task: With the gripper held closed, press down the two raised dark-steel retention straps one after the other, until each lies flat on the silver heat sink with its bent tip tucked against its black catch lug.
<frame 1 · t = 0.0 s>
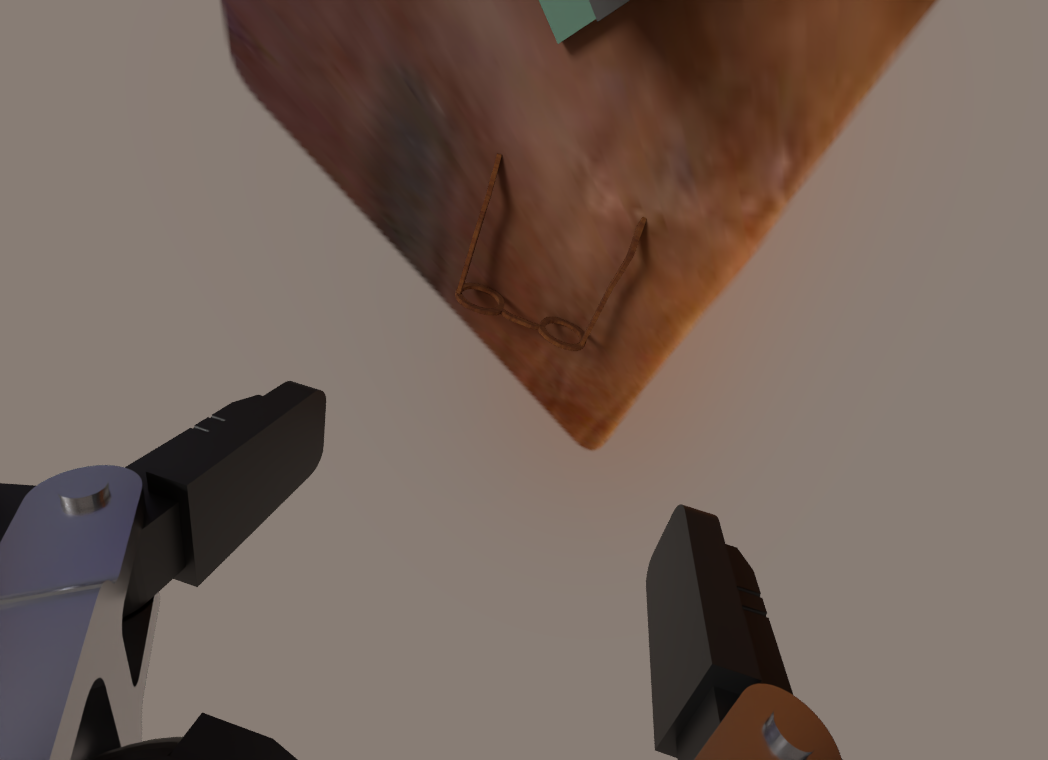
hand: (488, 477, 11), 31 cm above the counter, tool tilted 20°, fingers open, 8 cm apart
glasses: (548, 249, 43), on the counter
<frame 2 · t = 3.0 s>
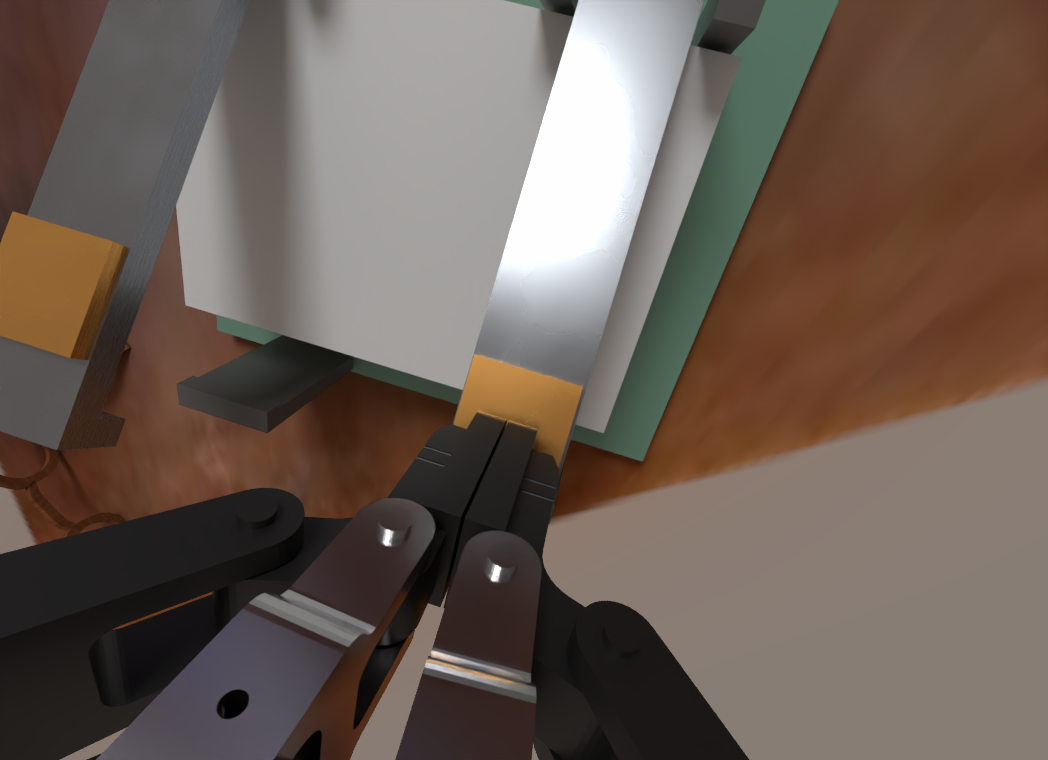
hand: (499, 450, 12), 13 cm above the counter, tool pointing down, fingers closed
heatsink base: (458, 201, 22), on the counter
glasses: (146, 453, 34), on the counter
strap b: (137, 141, 13), point 10 cm above the counter, hinge at 30.0°
strap a: (562, 266, 13), point 10 cm above the counter, hinge at 25.2°, touching gripper
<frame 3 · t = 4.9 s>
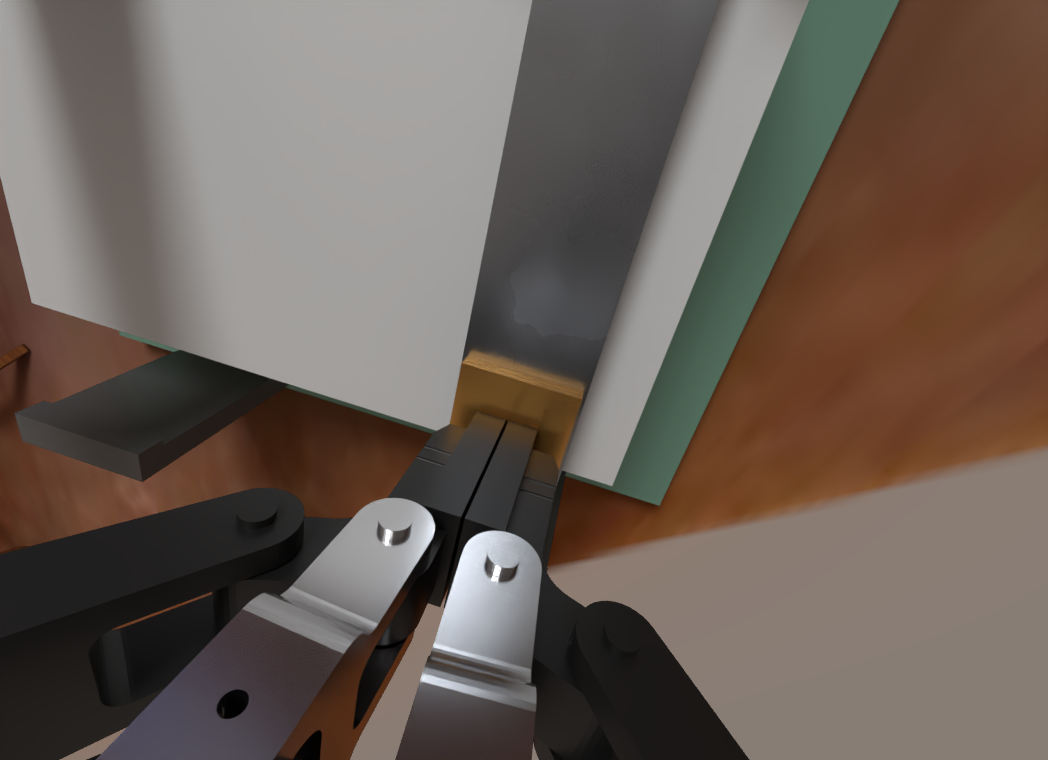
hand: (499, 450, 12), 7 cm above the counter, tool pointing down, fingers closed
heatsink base: (416, 164, 16), on the counter
glasses: (66, 477, 28), on the counter
strap a: (561, 244, 10), point 6 cm above the counter, hinge at 0.9°, touching gripper
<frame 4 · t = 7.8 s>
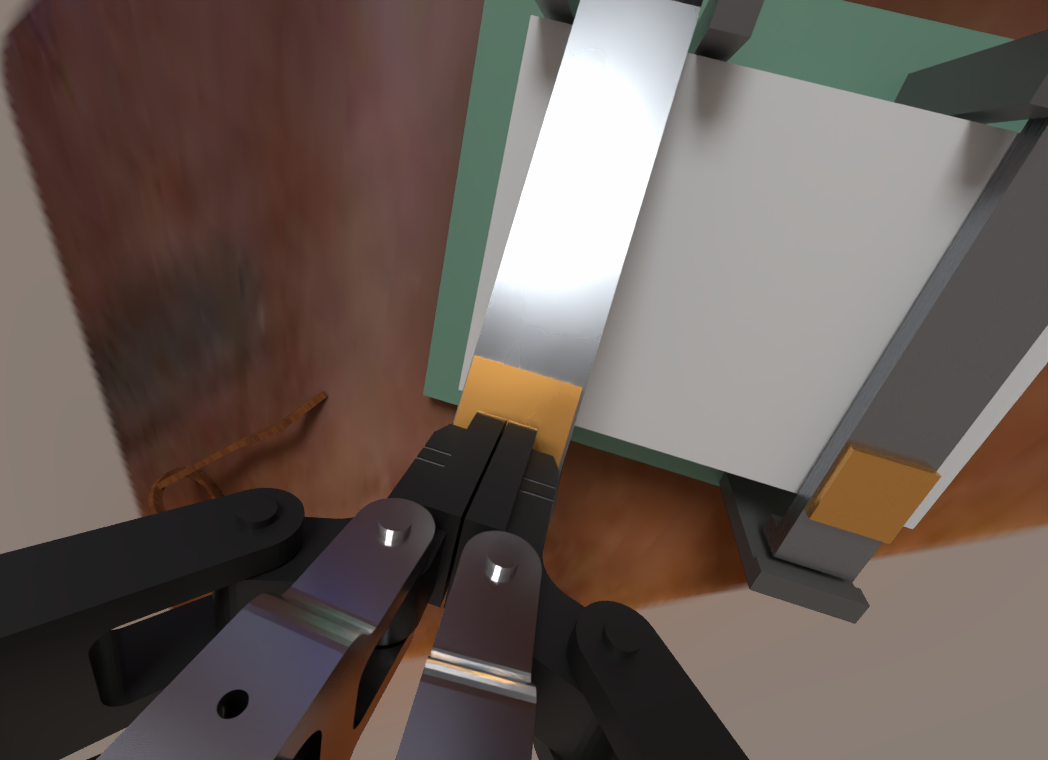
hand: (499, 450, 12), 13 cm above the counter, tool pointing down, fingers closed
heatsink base: (714, 275, 21), on the counter
glasses: (316, 499, 33), on the counter
strap b: (561, 268, 13), point 10 cm above the counter, hinge at 26.2°, touching gripper
strap a: (933, 372, 15), point 6 cm above the counter, hinge at 0.8°
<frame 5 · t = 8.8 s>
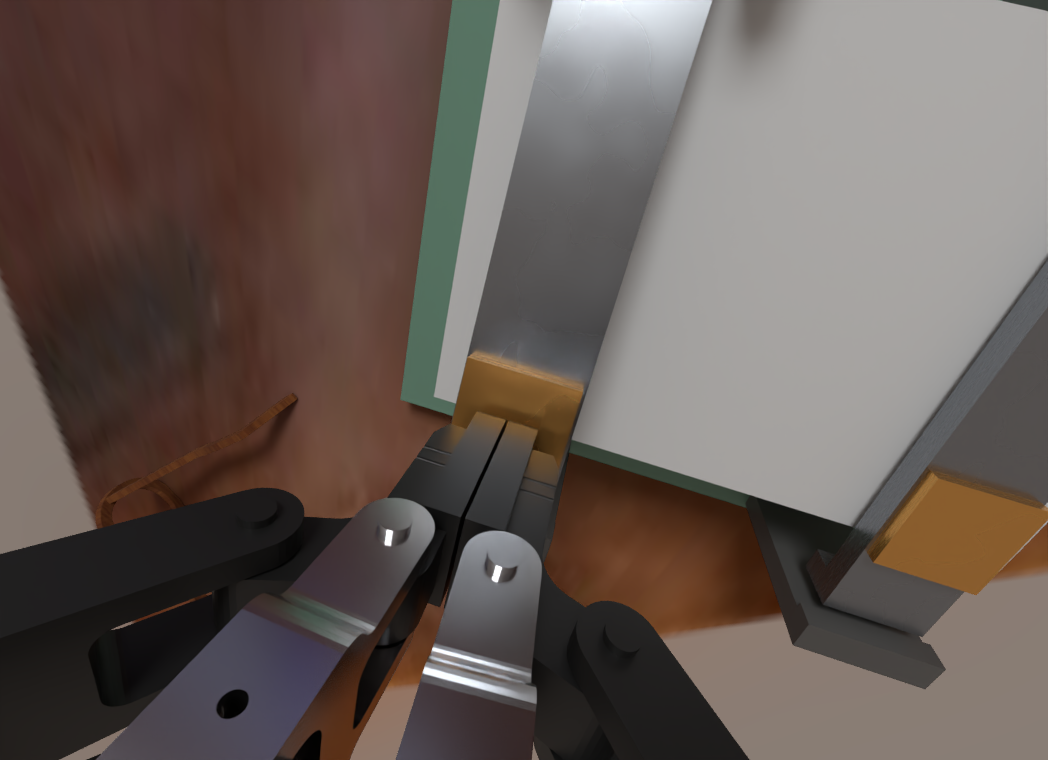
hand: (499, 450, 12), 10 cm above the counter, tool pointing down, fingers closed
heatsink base: (744, 258, 18), on the counter
glasses: (291, 513, 29), on the counter
strap b: (563, 249, 11), point 8 cm above the counter, hinge at 10.8°, touching gripper
strap a: (1046, 378, 12), point 6 cm above the counter, hinge at 0.8°
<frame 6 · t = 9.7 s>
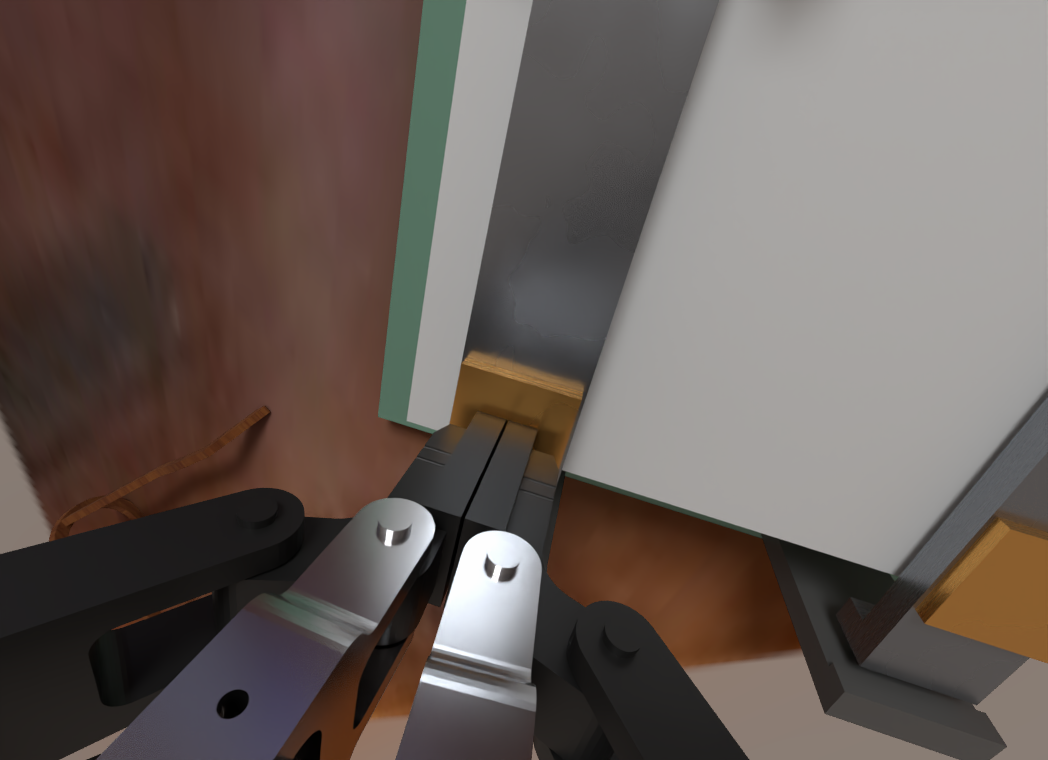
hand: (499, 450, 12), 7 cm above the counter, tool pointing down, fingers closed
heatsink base: (763, 260, 16), on the counter
glasses: (267, 534, 27), on the counter
strap b: (560, 245, 10), point 6 cm above the counter, hinge at 1.1°, touching gripper
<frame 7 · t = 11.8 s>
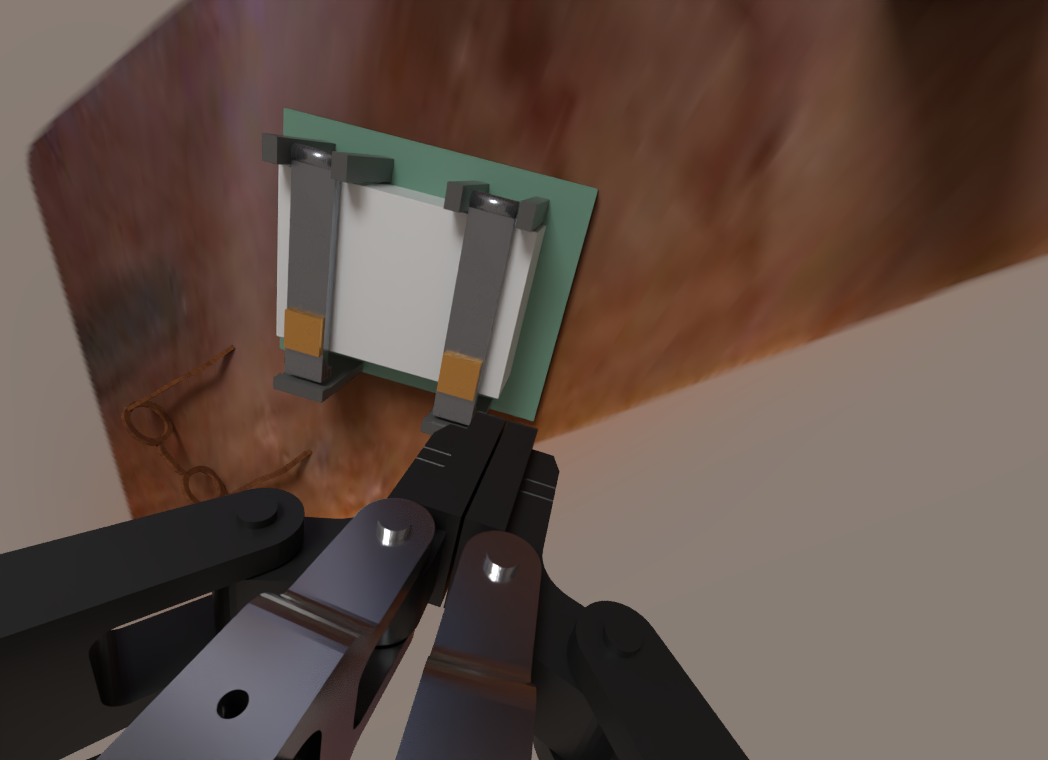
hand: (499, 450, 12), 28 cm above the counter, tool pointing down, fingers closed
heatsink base: (424, 276, 40), on the counter
glasses: (234, 422, 50), on the counter
strap b: (312, 272, 34), point 6 cm above the counter, hinge at 1.0°
strap a: (473, 317, 34), point 6 cm above the counter, hinge at 0.8°
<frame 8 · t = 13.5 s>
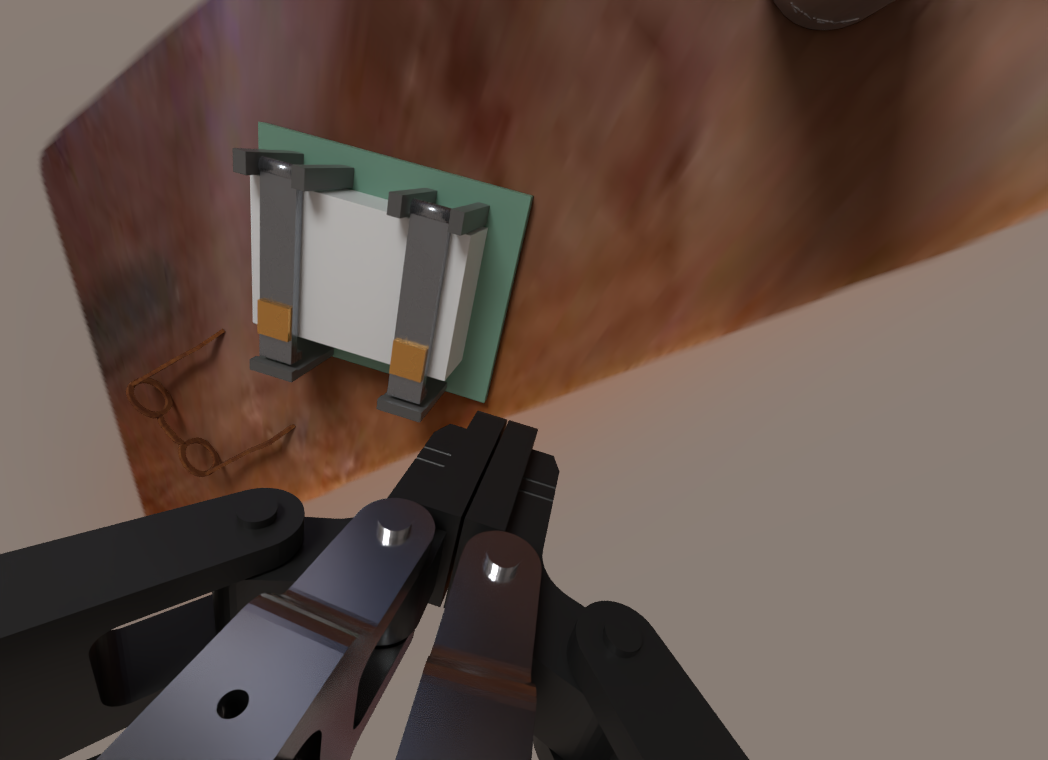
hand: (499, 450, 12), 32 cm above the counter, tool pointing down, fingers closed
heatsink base: (385, 271, 44), on the counter
glasses: (227, 398, 55), on the counter
strap b: (281, 268, 39), point 6 cm above the counter, hinge at 1.0°
strap a: (419, 308, 38), point 6 cm above the counter, hinge at 0.8°
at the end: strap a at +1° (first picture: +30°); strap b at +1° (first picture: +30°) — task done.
